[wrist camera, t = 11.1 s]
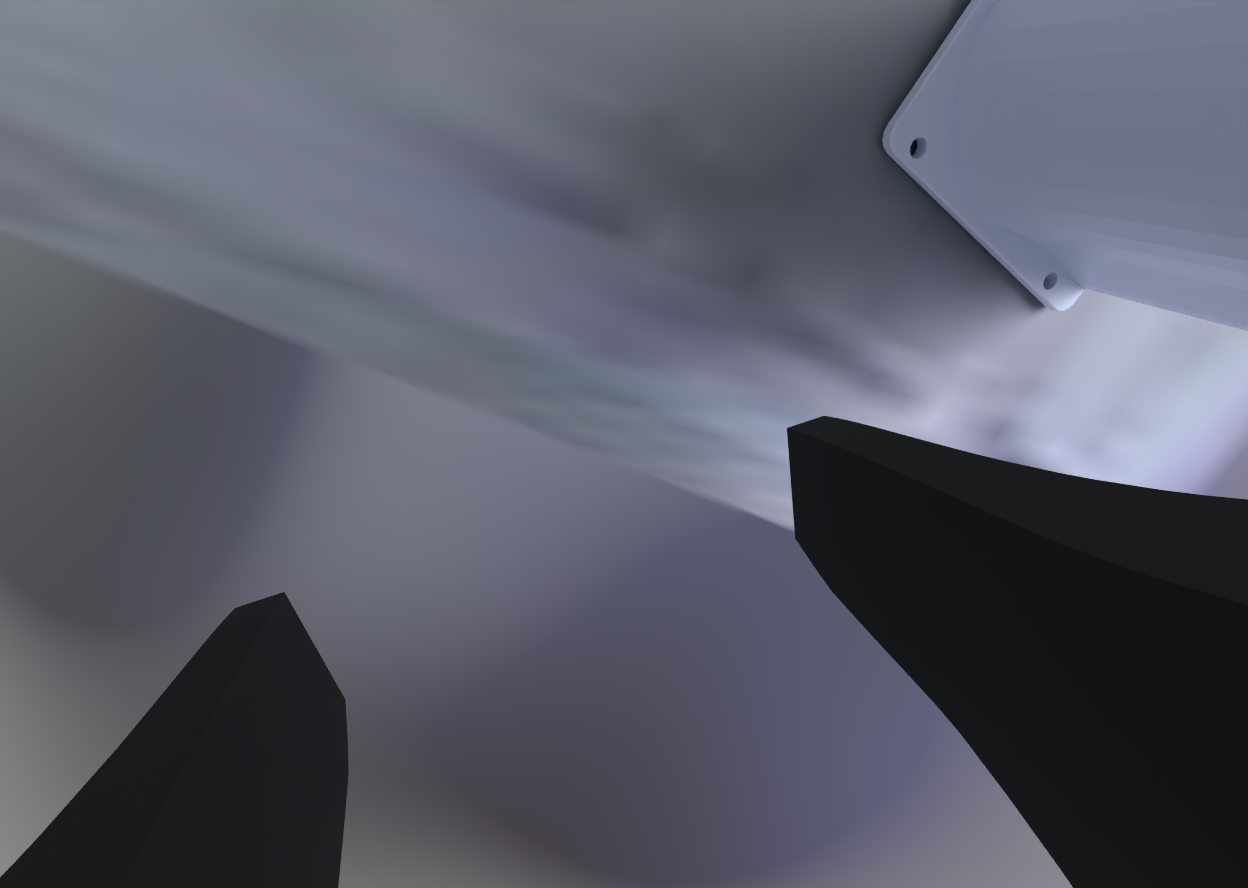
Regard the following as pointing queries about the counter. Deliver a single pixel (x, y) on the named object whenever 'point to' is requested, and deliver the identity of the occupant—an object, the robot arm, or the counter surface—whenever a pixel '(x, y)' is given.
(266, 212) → the counter surface
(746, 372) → the counter surface
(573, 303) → the counter surface
